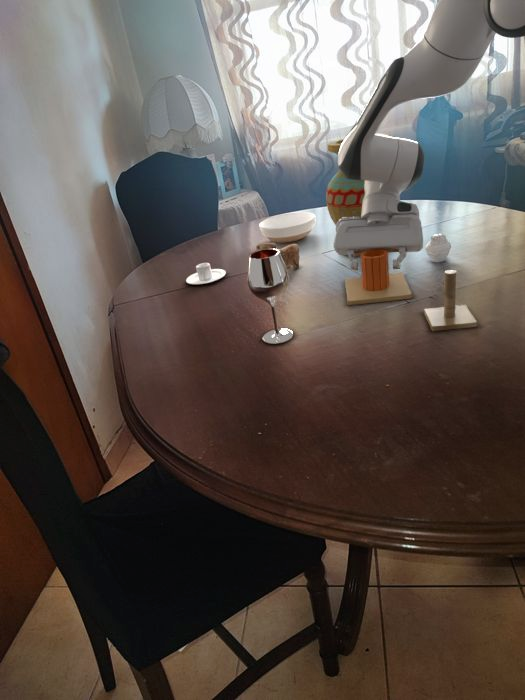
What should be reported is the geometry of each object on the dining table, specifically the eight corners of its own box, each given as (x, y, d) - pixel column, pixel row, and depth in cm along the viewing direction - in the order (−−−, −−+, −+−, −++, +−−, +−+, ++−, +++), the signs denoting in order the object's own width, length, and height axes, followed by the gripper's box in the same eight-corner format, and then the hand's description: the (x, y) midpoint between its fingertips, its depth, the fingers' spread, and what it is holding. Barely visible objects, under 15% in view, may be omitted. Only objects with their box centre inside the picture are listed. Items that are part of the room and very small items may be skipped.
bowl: (319, 226, 167) (317, 209, 164) (315, 242, 150) (313, 224, 147) (266, 233, 171) (264, 216, 168) (257, 249, 155) (254, 231, 152)
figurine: (254, 282, 128) (248, 246, 123) (290, 262, 138) (285, 228, 133) (273, 284, 123) (267, 248, 119) (308, 263, 133) (304, 229, 128)
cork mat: (402, 275, 114) (402, 272, 113) (412, 298, 102) (412, 294, 101) (345, 282, 116) (344, 278, 116) (348, 305, 104) (347, 301, 104)
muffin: (452, 263, 116) (453, 235, 112) (426, 265, 117) (426, 238, 114) (448, 254, 121) (449, 228, 117) (424, 257, 122) (424, 231, 119)
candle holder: (224, 268, 143) (221, 255, 141) (228, 280, 132) (225, 266, 130) (186, 276, 142) (182, 263, 140) (187, 289, 131) (183, 275, 129)
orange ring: (387, 279, 111) (386, 247, 107) (390, 289, 105) (389, 255, 102) (361, 282, 112) (359, 250, 108) (363, 292, 106) (361, 259, 103)
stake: (465, 309, 93) (467, 261, 88) (476, 327, 86) (479, 276, 82) (424, 313, 95) (424, 267, 90) (432, 331, 88) (432, 282, 83)
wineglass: (269, 326, 101) (254, 247, 93) (303, 328, 98) (291, 246, 89) (252, 344, 95) (235, 261, 87) (288, 347, 92) (274, 261, 83)
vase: (356, 265, 125) (347, 147, 111) (319, 251, 142) (307, 146, 128) (415, 246, 131) (413, 131, 117) (372, 234, 148) (367, 132, 134)
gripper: (333, 211, 110) (327, 264, 107) (424, 203, 102) (420, 261, 99) (339, 224, 116) (334, 275, 113) (426, 218, 108) (422, 273, 105)
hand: (374, 269), depth 106 cm, fingers open, 8 cm apart
